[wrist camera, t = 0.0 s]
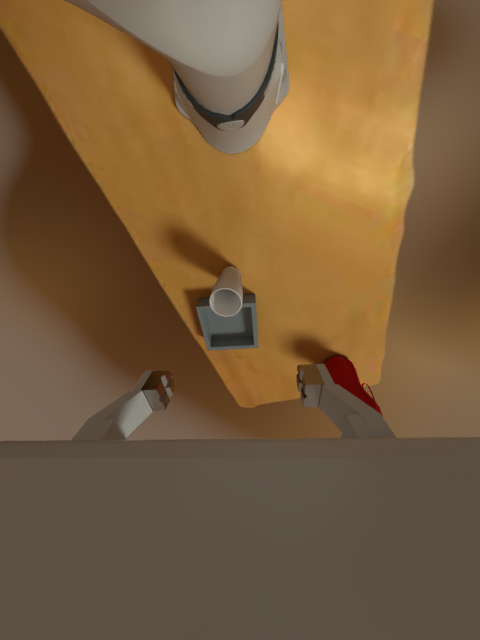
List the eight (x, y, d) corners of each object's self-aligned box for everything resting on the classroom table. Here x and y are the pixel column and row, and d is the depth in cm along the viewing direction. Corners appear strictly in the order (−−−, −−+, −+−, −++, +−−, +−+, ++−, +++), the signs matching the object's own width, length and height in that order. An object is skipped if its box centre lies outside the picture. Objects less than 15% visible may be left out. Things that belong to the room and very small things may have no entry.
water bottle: (357, 356, 64) (410, 433, 43) (336, 374, 69) (374, 450, 49) (336, 348, 62) (380, 425, 41) (316, 368, 68) (346, 443, 47)
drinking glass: (215, 281, 49) (204, 310, 37) (224, 258, 46) (215, 281, 33) (237, 290, 51) (234, 321, 38) (248, 269, 47) (248, 295, 35)
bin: (199, 298, 52) (195, 306, 48) (254, 294, 51) (255, 302, 47) (210, 339, 61) (207, 350, 57) (257, 337, 60) (258, 347, 56)
